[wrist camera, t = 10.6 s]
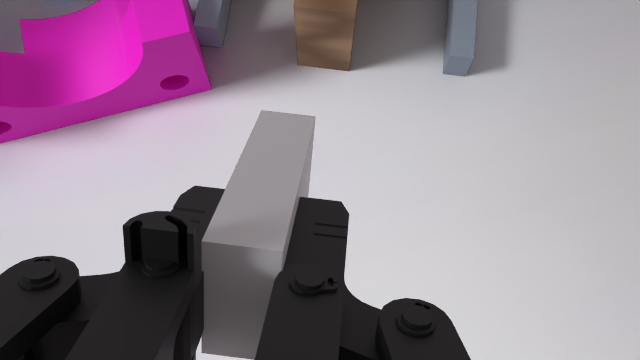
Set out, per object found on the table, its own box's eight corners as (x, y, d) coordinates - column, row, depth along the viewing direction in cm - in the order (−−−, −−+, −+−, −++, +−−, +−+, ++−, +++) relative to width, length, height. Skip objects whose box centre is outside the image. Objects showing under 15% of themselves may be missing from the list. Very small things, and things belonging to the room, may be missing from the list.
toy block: (191, 11, 43) (166, -61, 36) (212, 90, 41) (189, 31, 34) (-26, 64, 42) (-97, 0, 34) (-15, 148, 40) (-87, 99, 33)
